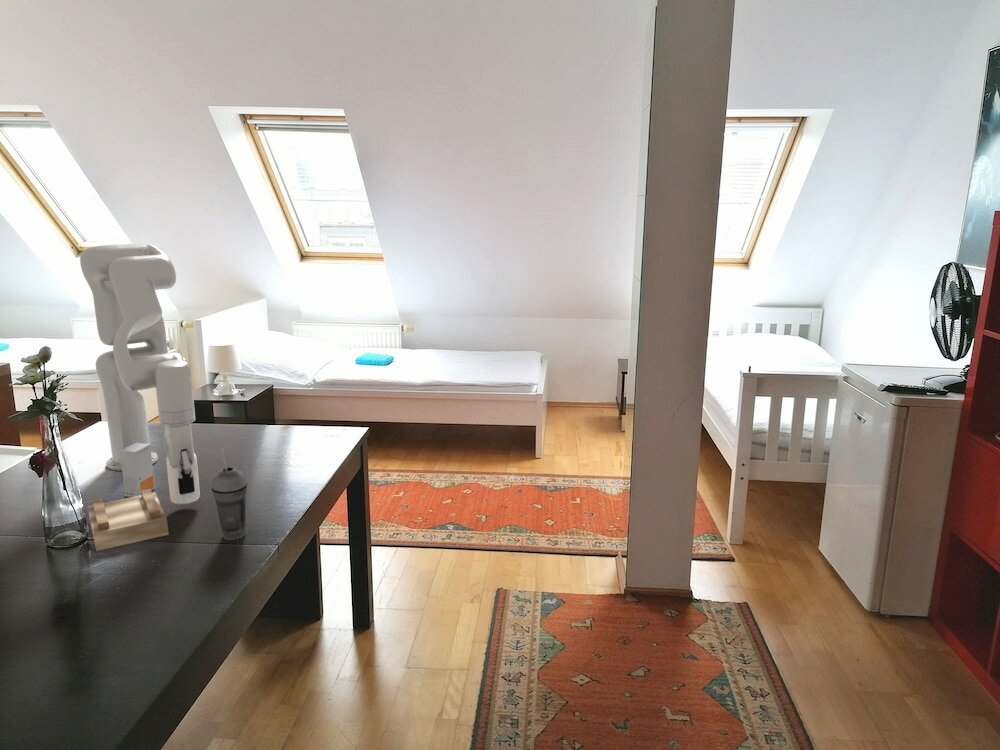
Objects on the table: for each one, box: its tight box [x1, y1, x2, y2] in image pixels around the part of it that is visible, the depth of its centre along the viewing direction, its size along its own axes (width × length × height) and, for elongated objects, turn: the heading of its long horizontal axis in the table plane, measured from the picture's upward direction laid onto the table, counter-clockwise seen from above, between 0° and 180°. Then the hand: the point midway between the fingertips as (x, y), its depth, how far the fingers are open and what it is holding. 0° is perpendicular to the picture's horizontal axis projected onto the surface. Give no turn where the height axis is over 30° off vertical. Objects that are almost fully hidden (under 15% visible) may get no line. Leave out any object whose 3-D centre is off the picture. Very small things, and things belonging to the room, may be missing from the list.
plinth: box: [87, 489, 169, 552], centre depth 162 cm, size 16×14×6 cm
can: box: [165, 452, 201, 506], centre depth 171 cm, size 6×6×12 cm
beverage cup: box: [211, 447, 248, 541], centre depth 157 cm, size 7×7×20 cm
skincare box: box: [120, 443, 156, 498], centre depth 180 cm, size 6×4×12 cm
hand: (184, 486), depth 171 cm, fingers closed on can, 6 cm apart
